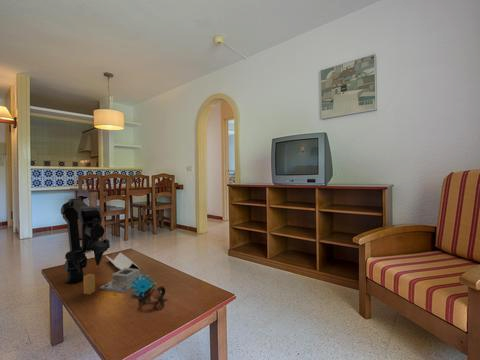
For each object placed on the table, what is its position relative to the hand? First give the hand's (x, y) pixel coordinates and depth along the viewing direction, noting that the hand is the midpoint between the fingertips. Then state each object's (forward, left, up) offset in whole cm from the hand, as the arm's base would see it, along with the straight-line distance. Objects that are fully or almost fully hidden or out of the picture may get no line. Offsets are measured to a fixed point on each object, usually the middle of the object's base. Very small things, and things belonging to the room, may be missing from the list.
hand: (89, 268), depth 111 cm
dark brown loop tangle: (+35, -1, -11) cm, 37 cm away
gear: (+25, +6, -11) cm, 28 cm away
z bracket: (-11, +32, -12) cm, 36 cm away
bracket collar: (+9, +13, -11) cm, 19 cm away
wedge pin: (0, 0, -11) cm, 11 cm away
